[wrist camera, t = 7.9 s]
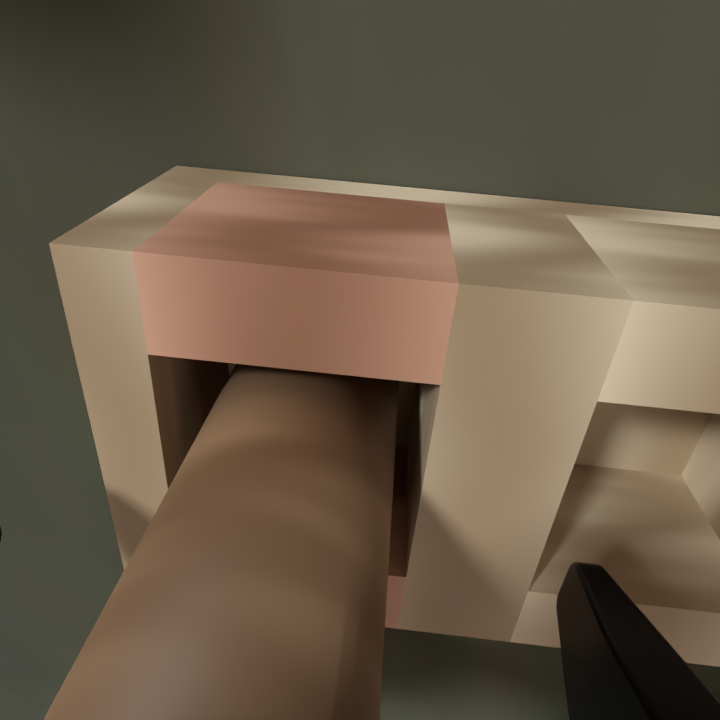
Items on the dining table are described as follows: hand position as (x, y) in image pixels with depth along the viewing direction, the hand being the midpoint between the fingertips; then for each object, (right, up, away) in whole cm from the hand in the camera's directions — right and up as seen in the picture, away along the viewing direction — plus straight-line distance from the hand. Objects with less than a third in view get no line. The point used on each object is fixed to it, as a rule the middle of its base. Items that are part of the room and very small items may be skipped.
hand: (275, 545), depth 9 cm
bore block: (+4, +3, +5) cm, 7 cm away
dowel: (0, +3, +5) cm, 6 cm away
